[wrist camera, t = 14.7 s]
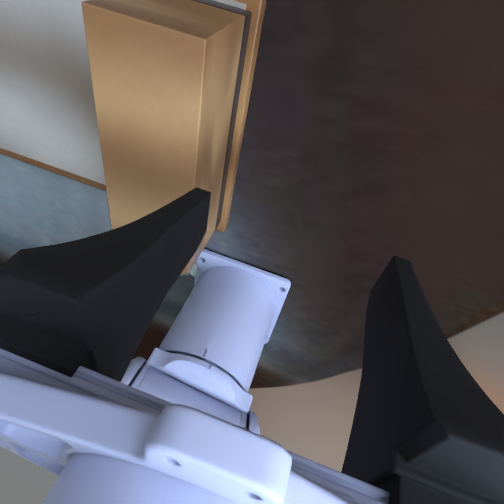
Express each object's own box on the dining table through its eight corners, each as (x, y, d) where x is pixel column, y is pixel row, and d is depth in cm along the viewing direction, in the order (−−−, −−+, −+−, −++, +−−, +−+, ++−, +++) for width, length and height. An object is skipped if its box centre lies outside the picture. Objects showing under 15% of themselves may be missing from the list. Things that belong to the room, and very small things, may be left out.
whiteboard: (227, 225, 27) (222, 234, 27) (-4, 144, 29) (-14, 149, 29) (269, -14, 17) (263, -10, 16) (-98, -118, 19) (-117, -119, 18)
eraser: (220, 221, 26) (187, 274, 22) (156, 199, 26) (113, 247, 23) (252, 11, 17) (205, 39, 13) (153, -18, 17) (80, 1, 13)
